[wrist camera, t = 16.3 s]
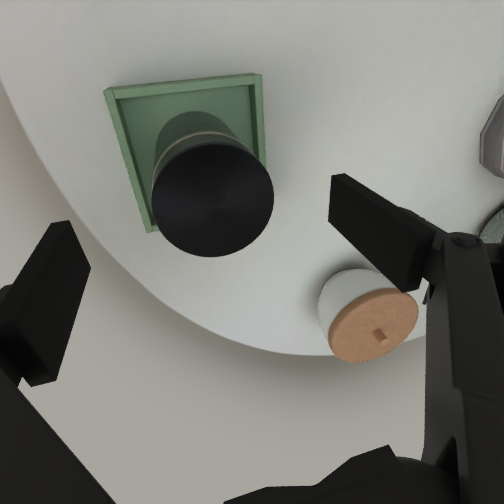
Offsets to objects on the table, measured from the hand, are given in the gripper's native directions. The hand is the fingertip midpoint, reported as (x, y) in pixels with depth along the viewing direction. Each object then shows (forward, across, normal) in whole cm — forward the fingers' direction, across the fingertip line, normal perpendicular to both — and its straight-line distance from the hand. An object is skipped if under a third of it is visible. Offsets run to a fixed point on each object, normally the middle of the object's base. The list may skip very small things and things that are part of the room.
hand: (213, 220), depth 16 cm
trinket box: (+13, +16, -20) cm, 29 cm away
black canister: (+13, 0, 0) cm, 13 cm away
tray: (+14, 0, 0) cm, 14 cm away
